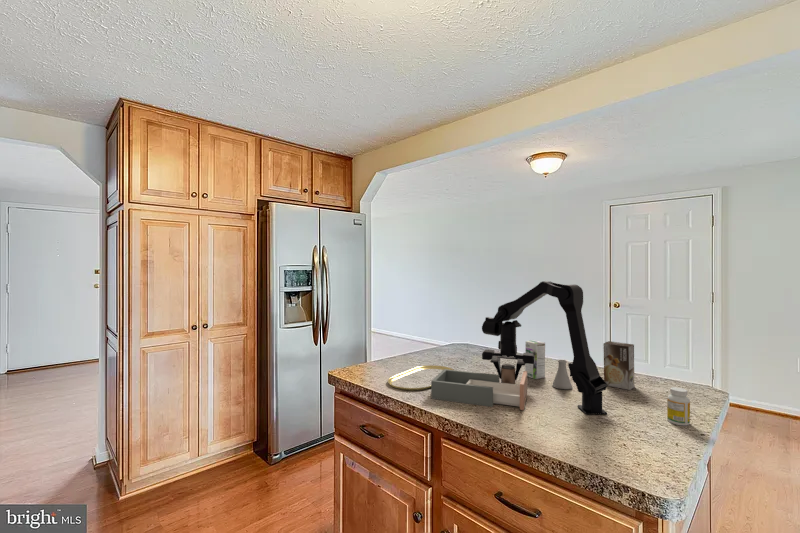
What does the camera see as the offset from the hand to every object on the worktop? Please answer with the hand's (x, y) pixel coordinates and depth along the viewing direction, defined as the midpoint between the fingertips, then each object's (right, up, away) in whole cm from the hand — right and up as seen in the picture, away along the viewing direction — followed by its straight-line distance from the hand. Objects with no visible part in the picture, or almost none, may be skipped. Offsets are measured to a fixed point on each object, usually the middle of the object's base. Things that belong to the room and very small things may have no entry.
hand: (508, 379), depth 143 cm
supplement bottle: (+40, -3, -33) cm, 52 cm away
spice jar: (0, -2, 0) cm, 2 cm away
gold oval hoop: (-31, -4, +11) cm, 33 cm away
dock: (-17, -3, -9) cm, 20 cm away
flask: (+20, -3, 0) cm, 21 cm away
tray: (-8, -3, -13) cm, 15 cm away
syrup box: (+15, -3, +13) cm, 20 cm away
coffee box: (+42, -3, +1) cm, 42 cm away
